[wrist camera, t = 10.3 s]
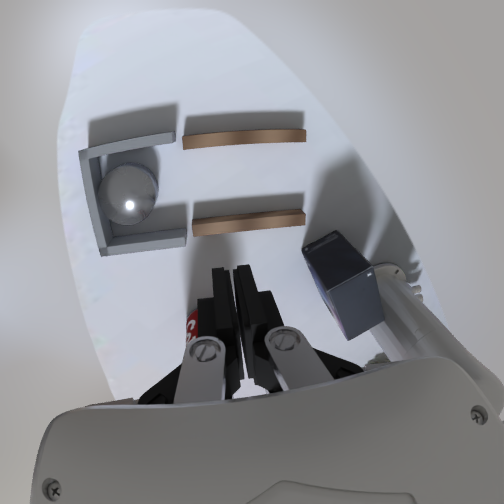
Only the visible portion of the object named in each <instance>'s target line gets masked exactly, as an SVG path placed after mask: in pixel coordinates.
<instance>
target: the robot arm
mask: <svg viewBox="0 0 504 504" xmlns="http://www.w3.org/2000/svg"><path fill="white" fill-rule="evenodd" d="M374 271H375V275H376V279H377V284H378V288H379V293H380V297H381V302H382V307H383V312H384V318H385V320H384V321H383V322H381V323H379V324H378V325H376V326H374V327H372V328H371V329H369V331H370V332H371V334H372V335H373V336H374V338H375V339H376V341H377V342H378V344H379V345H380V347H381V348H382V350H383V351H384V353H385V354H386V356H387V357H388V359H389V360H390V362H385V363H376V364H365V367H362V368H361V367H360V366H358V365H356V364H354V363H352V362H349V361H346V360H343V359H341V358H338V357H335V356H333V355H330V354H327V353H325V352H322V351H320V350H317V349H314V348H312V347H311V345H310V344H309V342H308V341H307V339H306V338H305V336H304V335H303V334H302V333H301V332H300V331H299V330H297V329H296V328H293V327H289V326H284V324H283V321H282V318H281V316H280V313H279V310H278V308H277V305H276V303H275V300H274V297H273V295H272V292H271V291H262V292H258V290H257V287H256V284H255V281H254V278H253V274H252V271H251V268H250V265H249V264H248V265H240V266H237V269H233V279H234V289H235V300H236V307H235V301H234V296H233V290H232V284H231V279H230V273H229V270H224V267H222V268H213V269H212V279H213V294H214V297H212V298H203V299H198V338H196V339H194V340H193V341H191V342H190V343H189V344H188V345H187V347H186V349H185V353H184V357H183V361H182V364H181V365H179V366H178V367H177V368H176V369H174V370H173V371H172V372H171V373H169V374H168V375H167V376H165V377H164V378H163V379H162V380H160V381H159V382H158V383H157V384H155V385H154V386H153V387H151V388H150V389H149V390H148V391H146V392H145V393H144V394H143V395H142V396H141V397H140V399H137V400H134V399H133V398H128V399H122V400H117V401H111V402H105V403H98V404H92V405H88V406H85V407H82V408H77V409H74V410H70V411H67V412H64V413H62V414H60V415H58V416H56V417H55V418H54V419H53V420H52V421H51V422H50V424H49V425H48V427H47V428H46V430H45V433H44V435H43V438H42V440H41V443H40V447H39V450H38V454H37V459H36V463H35V468H34V473H33V480H32V488H31V498H30V504H504V421H501V419H500V418H499V415H500V413H501V411H502V409H503V407H504V386H503V384H502V383H501V381H500V380H499V379H498V378H497V377H496V375H495V374H493V373H492V372H491V371H490V370H489V369H488V368H486V367H485V366H484V365H483V364H482V363H481V362H479V361H478V360H477V359H476V358H475V357H474V356H472V354H471V353H469V352H468V351H467V350H466V348H464V346H463V345H462V344H461V343H460V342H459V341H458V340H457V339H456V338H455V337H454V336H453V335H452V334H451V332H450V331H449V330H448V329H447V328H446V327H445V326H444V325H443V324H442V323H441V322H440V320H439V319H438V318H437V317H436V316H435V315H434V314H433V313H432V312H431V311H430V310H429V309H428V308H427V307H426V306H425V305H424V304H423V303H422V302H423V296H422V295H421V294H416V295H415V293H419V292H421V286H420V285H417V286H413V287H411V286H410V285H409V284H408V283H407V282H406V276H405V274H404V272H403V271H402V270H401V269H400V268H399V267H398V266H397V265H395V264H391V263H384V264H379V265H377V266H374ZM236 310H237V312H236ZM240 337H241V340H240ZM241 342H242V347H243V353H244V358H245V363H246V368H247V373H248V378H249V379H250V378H254V383H255V385H259V386H261V387H263V388H265V391H266V394H264V395H258V396H251V397H244V398H237V399H234V397H233V394H234V393H235V392H236V391H237V390H238V389H239V388H240V387H241V385H240V380H242V379H244V369H243V360H242V350H241Z"/></svg>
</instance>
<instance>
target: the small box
mask: <svg viewBox="0 0 504 504" xmlns="http://www.w3.org/2000/svg"><path fill="white" fill-rule="evenodd" d="M302 253H303V256H304V258H305V260H306V263H307V265H308V267H309V270H310V272H311V274H312V276H313V279H314V281H315V283H316V286H317V288H318V290H319V292H320V294H321V297H322V299H323V300H324V302H325V304H326V306H327V307H328V309H329V311H330V313H331V314H332V316H333V318H334V319H335V321H336V323H337V324H338V326H339V328H340V329H341V331H342V332H343V334H344V336H345V337H346V339H347V340H348V341H349V340H351V339H353V338H355V337H357V336H359V335H360V334H362V333H364V332H366V331H367V330H369V329H371V328H372V327H374V326H376V325H378V324H379V323H381V322H383V321H384V320H385V318H384V312H383V307H382V302H381V297H380V293H379V288H378V284H377V279H376V275H375V271H374V267H373V266H372V265H371V264H370V263H369V261H368V260H366V259H365V257H363V255H361V253H360V252H359V251H358V250H357V249H356V248H354V247H353V246H352V245H351V244H350V243H349V242H348V241H347V240H346V239H345V238H344V237H343V235H342V234H341V233H340V232H339V231H337V230H336V231H334V232H332V233H331V234H328V235H327V236H325V237H323V238H322V239H320V240H318V241H316V242H314V243H311V244H310V245H308V246H306V247H305V248H303V249H302Z"/></svg>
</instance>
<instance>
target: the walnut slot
mask: <svg viewBox="0 0 504 504" xmlns="http://www.w3.org/2000/svg"><path fill="white" fill-rule="evenodd" d="M182 140H183V150H186V149H195V148H204V147H214V146H225V145H239V144H255V143H281V142H306V130H304V129H267V130H244V131H228V132H216V133H205V134H196V135H187V136H183V137H182ZM305 217H306V214H305V213H304V212H303V211H302V210H301V209H295V210H283V211H271V212H260V213H249V214H239V215H229V216H220V217H210V218H201V219H193V220H192V230H193V237H196V236H204V235H213V234H222V233H231V232H241V231H250V230H260V229H270V228H280V227H291V226H301V225H305Z"/></svg>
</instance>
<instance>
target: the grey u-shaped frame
mask: <svg viewBox="0 0 504 504" xmlns="http://www.w3.org/2000/svg"><path fill="white" fill-rule="evenodd" d="M173 142H175V131H173V132H166V133H160V134H154V135H148V136H142V137H136V138H131V139H126V140H121V141H116V142H112V143H107V144H103V145H99V146H95V147H91V148H87V149H83V150H80V151H78V152H79V160H80V166H81V172H82V178H83V184H84V189H85V194H86V199H87V204H88V208H89V213H90V217H91V221H92V225H93V229H94V233H95V237H96V241H97V244H98V248H99V252H100V255H101V257H103V256H111V255H119V254H127V253H135V252H143V251H151V250H160V249H168V248H177V247H185V246H186V240H187V233H186V228H180V229H172V230H164V231H156V232H148V233H141V234H133V235H126V236H119V237H113V234H112V230H111V225H110V221H109V218H108V217H107V216H106V215H105V214H104V213H103V211H102V209H101V207H100V204H99V200H98V190H99V186H100V183H101V175H100V168H99V162H98V157H99V156H103V155H107V154H112V153H117V152H122V151H127V150H132V149H138V148H143V147H149V146H155V145H162V144H169V143H173Z"/></svg>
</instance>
